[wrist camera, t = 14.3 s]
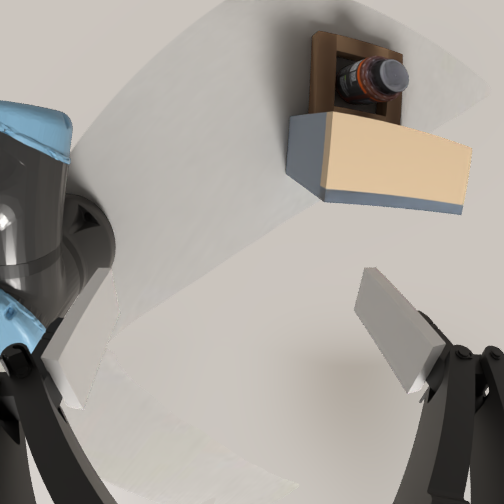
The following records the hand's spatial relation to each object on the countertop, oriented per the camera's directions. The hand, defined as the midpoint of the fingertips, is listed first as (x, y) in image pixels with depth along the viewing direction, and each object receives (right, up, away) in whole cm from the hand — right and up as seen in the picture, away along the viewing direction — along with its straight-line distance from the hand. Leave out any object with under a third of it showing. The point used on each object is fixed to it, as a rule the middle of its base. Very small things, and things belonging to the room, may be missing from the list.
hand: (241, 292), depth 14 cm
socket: (+15, +25, +20) cm, 35 cm away
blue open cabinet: (+14, +16, +24) cm, 32 cm away
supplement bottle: (+15, +26, +20) cm, 36 cm away
